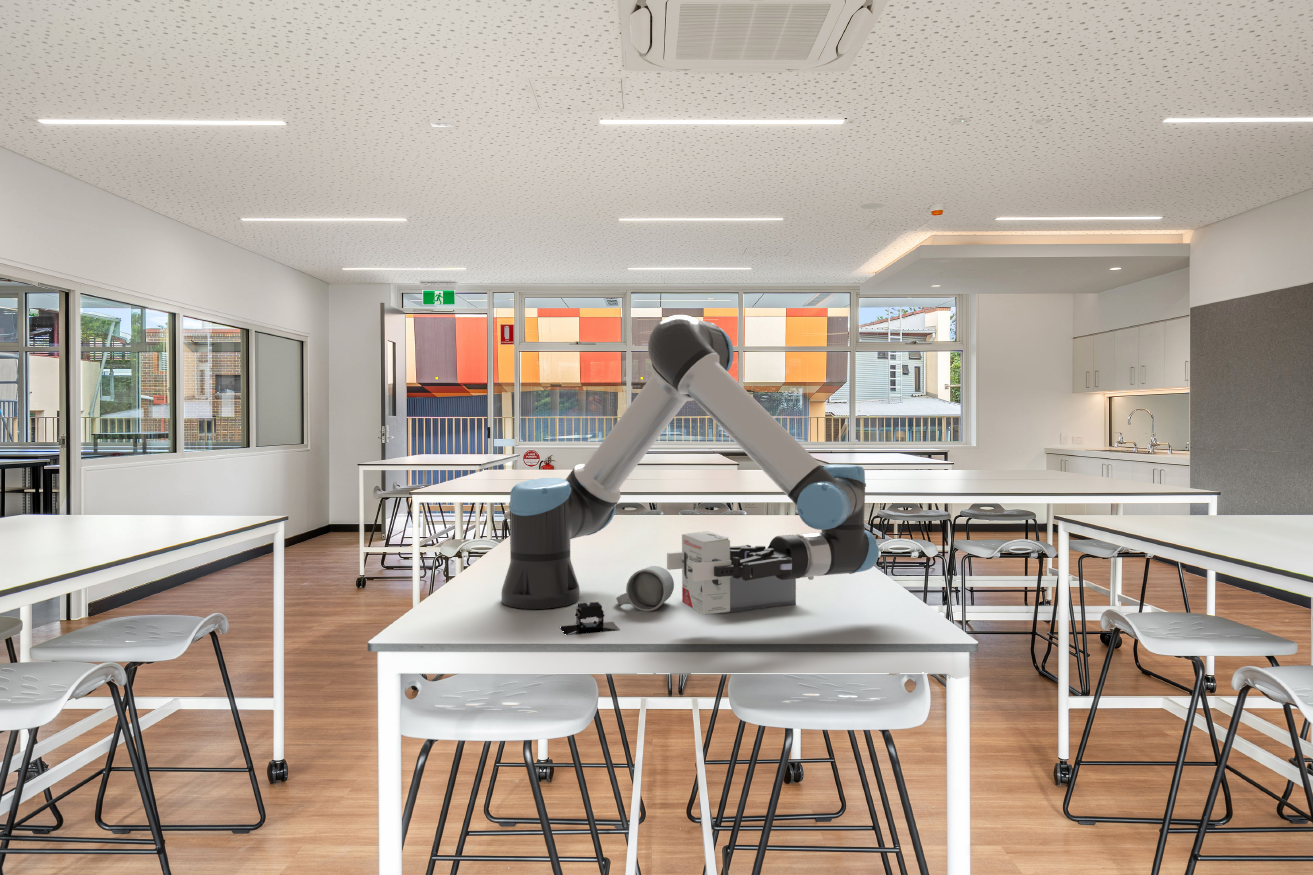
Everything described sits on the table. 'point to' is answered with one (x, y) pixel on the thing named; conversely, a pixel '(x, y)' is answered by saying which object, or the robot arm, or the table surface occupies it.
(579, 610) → the black angular piece
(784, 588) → the bin
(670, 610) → the table surface
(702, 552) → the ink box
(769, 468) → the robot arm
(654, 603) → the ceramic mug
